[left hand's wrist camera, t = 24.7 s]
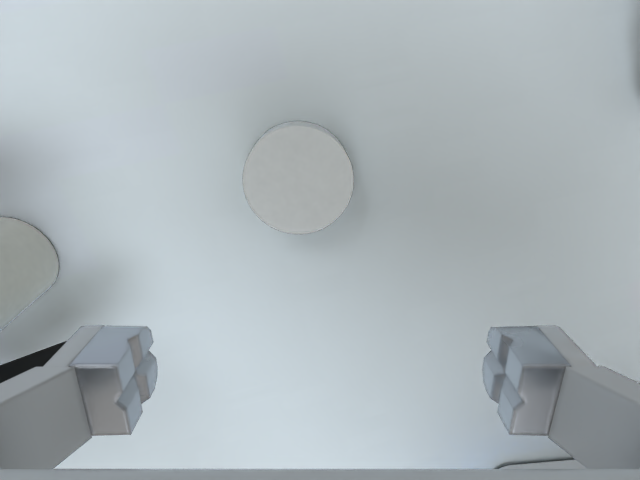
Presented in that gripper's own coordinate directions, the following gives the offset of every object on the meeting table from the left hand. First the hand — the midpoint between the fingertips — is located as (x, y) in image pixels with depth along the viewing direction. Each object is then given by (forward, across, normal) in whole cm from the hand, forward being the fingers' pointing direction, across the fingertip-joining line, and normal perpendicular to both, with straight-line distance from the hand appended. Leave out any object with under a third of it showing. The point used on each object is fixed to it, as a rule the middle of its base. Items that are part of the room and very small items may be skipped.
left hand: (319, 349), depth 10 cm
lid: (+13, +1, -1) cm, 13 cm away
